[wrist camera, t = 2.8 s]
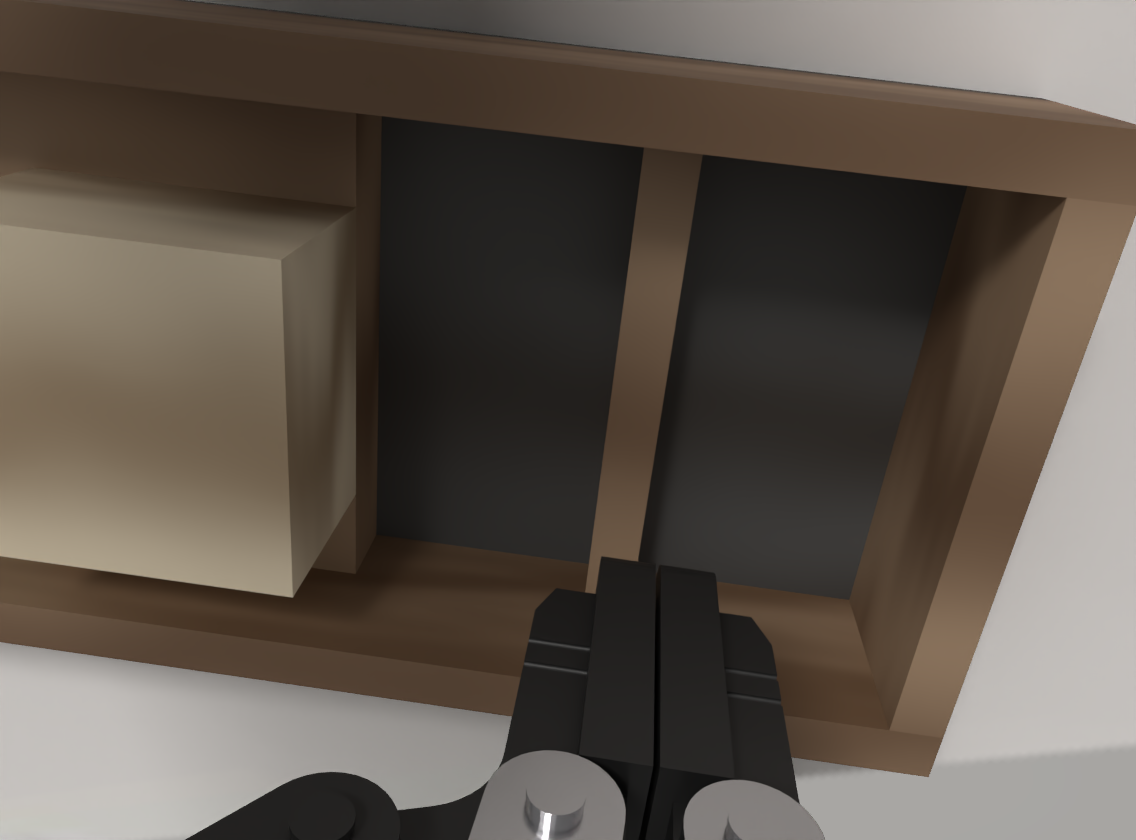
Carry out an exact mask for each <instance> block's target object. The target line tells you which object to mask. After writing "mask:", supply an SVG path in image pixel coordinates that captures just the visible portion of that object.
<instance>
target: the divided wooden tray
mask: <svg viewBox="0 0 1136 840" xmlns="http://www.w3.org/2000/svg"><path fill="white" fill-rule="evenodd" d="M31 168H41V169H49V170H58V171H66V172H74V173H82V174H90V175H98V176H106V177H114V178H122V179H131V180H139V181H147V182H155V183H163V184H171V185H179V186H187V187H195V188H203V189H212V190H220V191H228V192H236V193H244V194H252V195H260V196H268V197H276V198H285V199H293V200H301V201H309V202H317V203H325V204H333V205H341V206H349V207H356V495H355V497H354V498H353V500H352V502H351V503H350V505H349V507H348V508H347V510H346V511H345V513H344V515H343V516H342V518H341V520H340V521H339V523H338V525H337V526H336V528H335V529H334V531H333V533H332V534H331V536H330V538H329V539H328V541H327V543H326V544H325V546H324V547H323V549H322V551H321V552H320V554H319V556H318V557H317V559H316V561H315V562H314V564H313V565H312V567H311V569H310V570H309V572H308V574H307V575H306V577H305V579H304V580H303V582H302V583H301V585H300V587H299V588H298V590H297V592H296V593H295V595H294V597H293V598H292V597H285V596H278V595H271V594H264V593H257V592H250V591H243V590H236V589H229V588H221V587H214V586H207V585H200V584H193V583H186V582H179V581H172V580H165V579H158V578H151V577H144V576H137V575H130V574H123V573H116V572H109V571H101V570H94V569H87V568H80V567H73V566H66V565H59V564H52V563H45V562H38V561H31V560H24V559H17V558H10V557H3V556H0V642H5V643H11V644H18V645H25V646H32V647H39V648H46V649H53V650H60V651H66V652H73V653H80V654H87V655H94V656H101V657H108V658H114V659H121V660H128V661H135V662H142V663H149V664H156V665H163V666H169V667H176V668H183V669H190V670H197V671H204V672H211V673H217V674H224V675H231V676H238V677H245V678H252V679H259V680H266V681H272V682H279V683H286V684H293V685H300V686H307V687H314V688H320V689H327V690H334V691H341V692H348V693H355V694H362V695H369V696H375V697H382V698H389V699H396V700H403V701H410V702H417V703H423V704H430V705H437V706H444V707H451V708H458V709H465V710H472V711H478V712H485V713H492V714H499V715H506V716H512V715H513V711H514V706H515V701H516V697H517V692H518V687H519V683H520V678H521V673H522V669H523V665H524V659H525V655H526V650H527V645H528V642H529V636H530V631H531V626H532V622H533V617H534V612H535V609H536V608H537V607H538V606H539V605H540V604H541V603H542V602H543V601H544V600H545V599H546V598H547V597H548V596H549V595H550V594H551V593H552V592H553V591H554V590H555V589H556V588H559V589H566V590H573V591H579V592H586V593H593V594H595V592H596V586H597V579H598V573H599V566H600V560H601V556H605V557H611V558H618V559H625V560H631V561H638V562H645V563H652V564H655V565H656V575H657V571H658V567H659V565H667V566H673V567H680V568H687V569H694V570H700V571H707V572H714V573H715V575H716V582H717V593H718V603H719V612H721V613H728V614H734V615H741V616H748V617H752V619H753V620H754V621H755V623H756V624H757V625H758V627H759V628H760V629H761V631H762V632H763V634H764V635H765V636H766V638H767V639H768V640H769V642H770V643H771V644H772V648H773V653H774V659H775V665H776V671H777V681H778V682H779V688H780V694H781V706H783V712H784V717H785V723H786V729H787V735H788V741H789V746H790V752H791V757H794V758H801V759H808V760H815V761H822V762H829V763H835V764H842V765H849V766H856V767H863V768H870V769H877V770H884V771H890V772H897V773H904V774H911V775H918V776H925V777H929V774H930V772H931V769H932V766H933V764H934V761H935V758H936V755H937V753H938V750H939V747H940V745H941V742H942V739H943V736H944V734H945V731H946V728H947V726H948V723H949V720H950V717H951V715H952V712H953V709H954V707H955V704H956V701H957V698H958V696H959V693H960V690H961V688H962V685H963V682H964V680H965V677H966V674H967V671H968V669H969V666H970V663H971V661H972V658H973V655H974V652H975V650H976V647H977V644H978V642H979V639H980V636H981V633H982V631H983V628H984V625H985V623H986V620H987V617H988V614H989V612H990V609H991V606H992V604H993V601H994V598H995V595H996V593H997V590H998V587H999V585H1000V582H1001V579H1002V576H1003V574H1004V571H1005V568H1006V566H1007V563H1008V560H1009V557H1010V555H1011V552H1012V549H1013V547H1014V544H1015V541H1016V538H1017V536H1018V533H1019V530H1020V528H1021V525H1022V522H1023V519H1024V517H1025V514H1026V511H1027V509H1028V506H1029V503H1030V501H1031V498H1032V495H1033V492H1034V490H1035V487H1036V484H1037V482H1038V479H1039V476H1040V473H1041V471H1042V468H1043V465H1044V463H1045V460H1046V457H1047V454H1048V452H1049V449H1050V446H1051V444H1052V441H1053V438H1054V435H1055V433H1056V430H1057V427H1058V425H1059V422H1060V419H1061V416H1062V414H1063V411H1064V408H1065V406H1066V403H1067V400H1068V397H1069V395H1070V392H1071V389H1072V387H1073V384H1074V381H1075V378H1076V376H1077V373H1078V370H1079V368H1080V365H1081V362H1082V359H1083V357H1084V354H1085V351H1086V349H1087V346H1088V343H1089V340H1090V338H1091V335H1092V332H1093V330H1094V327H1095V324H1096V322H1097V319H1098V316H1099V313H1100V311H1101V308H1102V305H1103V303H1104V300H1105V297H1106V294H1107V292H1108V289H1109V286H1110V284H1111V281H1112V278H1113V275H1114V273H1115V270H1116V267H1117V265H1118V262H1119V259H1120V256H1121V254H1122V251H1123V248H1124V246H1125V243H1126V240H1127V237H1128V235H1129V232H1130V229H1131V227H1132V224H1133V221H1134V218H1135V216H1136V125H1135V124H1132V123H1128V122H1125V121H1121V120H1118V119H1114V118H1110V117H1107V116H1103V115H1100V114H1096V113H1092V112H1089V111H1085V110H1082V109H1078V108H1074V107H1071V106H1067V105H1064V104H1060V103H1057V102H1053V101H1049V100H1046V99H1042V98H1033V97H1025V96H1016V95H1007V94H998V93H990V92H981V91H972V90H964V89H955V88H946V87H937V86H929V85H920V84H911V83H902V82H894V81H885V80H876V79H868V78H859V77H850V76H841V75H833V74H824V73H815V72H807V71H798V70H789V69H780V68H772V67H763V66H754V65H746V64H737V63H728V62H719V61H711V60H702V59H693V58H685V57H676V56H667V55H658V54H650V53H641V52H632V51H624V50H615V49H606V48H597V47H589V46H580V45H571V44H563V43H554V42H545V41H536V40H528V39H519V38H510V37H502V36H493V35H484V34H475V33H467V32H458V31H449V30H441V29H432V28H423V27H414V26H406V25H397V24H388V23H380V22H371V21H362V20H353V19H345V18H336V17H327V16H319V15H310V14H301V13H292V12H284V11H275V10H266V9H258V8H249V7H240V6H231V5H223V4H214V3H205V2H196V1H188V0H0V177H2V176H6V175H10V174H13V173H17V172H20V171H24V170H28V169H31Z"/></svg>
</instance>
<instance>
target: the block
mask: <svg viewBox="0 0 1136 840" xmlns="http://www.w3.org/2000/svg"><path fill="white" fill-rule="evenodd" d="M355 495H356V207H349V206H341V205H333V204H325V203H317V202H309V201H301V200H293V199H285V198H276V197H268V196H260V195H252V194H244V193H236V192H228V191H220V190H212V189H203V188H195V187H187V186H179V185H171V184H163V183H155V182H147V181H139V180H131V179H122V178H114V177H106V176H98V175H90V174H82V173H74V172H66V171H58V170H49V169H41V168H31V169H28V170H24V171H20V172H17V173H13V174H10V175H6V176H2V177H0V556H3V557H10V558H17V559H24V560H31V561H38V562H45V563H52V564H59V565H66V566H73V567H80V568H87V569H94V570H101V571H109V572H116V573H123V574H130V575H137V576H144V577H151V578H158V579H165V580H172V581H179V582H186V583H193V584H200V585H207V586H214V587H221V588H229V589H236V590H243V591H250V592H257V593H264V594H271V595H278V596H285V597H292V598H293V597H294V595H295V593H296V592H297V590H298V588H299V587H300V585H301V583H302V582H303V580H304V579H305V577H306V575H307V574H308V572H309V570H310V569H311V567H312V565H313V564H314V562H315V561H316V559H317V557H318V556H319V554H320V552H321V551H322V549H323V547H324V546H325V544H326V543H327V541H328V539H329V538H330V536H331V534H332V533H333V531H334V529H335V528H336V526H337V525H338V523H339V521H340V520H341V518H342V516H343V515H344V513H345V511H346V510H347V508H348V507H349V505H350V503H351V502H352V500H353V498H354V497H355Z"/></svg>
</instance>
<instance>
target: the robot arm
mask: <svg viewBox="0 0 1136 840" xmlns="http://www.w3.org/2000/svg"><path fill="white" fill-rule="evenodd" d="M186 840H825V838H824V835H823V832H822V831H821V829H820V827H819V826H818V824H817V823H816V821H815V820H814V819H813V817H812V816H811V815H810V814H809V812H808V811H806V810H805V809H804V808H803V807H802V806H801V805H800V803H799V799H798V793H797V788H796V781H795V775H794V770H793V764H792V758H791V752H790V746H789V741H788V735H787V729H786V723H785V717H784V712H783V706H781V694H780V688H779V682H778V681H777V671H776V665H775V659H774V653H773V648H772V644H771V643H770V642H769V640H768V639H767V638H766V636H765V635H764V634H763V632H762V631H761V629H760V628H759V627H758V625H757V624H756V623H755V621H754V620H753V619H752V617H748V616H741V615H734V614H728V613H721V612H719V603H718V593H717V582H716V575H715V573H714V572H707V571H700V570H694V569H687V568H680V567H673V566H667V565H659V567H658V571H657V575H656V565H655V564H652V563H645V562H638V561H631V560H625V559H618V558H611V557H605V556H601V560H600V566H599V573H598V579H597V586H596V592H595V594H593V593H586V592H579V591H573V590H566V589H559V588H556V589H555V590H554V591H553V592H552V593H551V594H550V595H549V596H548V597H547V598H546V599H545V600H544V601H543V602H542V603H541V604H540V605H539V606H538V607H537V608H536V609H535V612H534V617H533V622H532V626H531V631H530V636H529V642H528V645H527V650H526V655H525V659H524V665H523V669H522V673H521V678H520V683H519V687H518V692H517V697H516V701H515V706H514V711H513V715H512V720H511V725H510V729H509V734H508V739H507V743H506V748H505V753H504V756H503V759H502V762H501V764H500V766H499V768H498V769H497V770H496V771H495V772H494V774H493V775H492V777H491V778H490V779H489V781H488V782H487V783H486V784H484V785H483V786H482V787H481V788H480V789H478V790H476V791H475V792H473V793H472V794H470V795H468V796H466V797H464V798H462V799H459V800H457V801H453V802H450V803H447V804H442V805H437V806H431V807H423V808H414V809H406V810H398V811H397V808H396V806H395V804H394V802H393V800H392V799H391V798H390V797H389V795H388V794H387V793H386V792H385V791H384V790H383V789H382V788H380V787H379V786H378V785H376V784H375V783H373V782H371V781H369V780H368V779H365V778H362V777H360V776H357V775H352V774H347V773H339V772H325V773H316V774H311V775H306V776H303V777H300V778H297V779H294V780H292V781H290V782H287V783H285V784H283V785H281V786H279V787H278V788H276V789H274V790H272V791H271V792H269V793H267V794H265V795H264V796H262V797H260V798H258V799H256V800H255V801H253V802H251V803H249V804H248V805H246V806H244V807H242V808H240V809H239V810H237V811H235V812H233V813H232V814H230V815H228V816H226V817H225V818H223V819H221V820H219V821H217V822H216V823H214V824H212V825H210V826H209V827H207V828H205V829H203V830H202V831H200V832H198V833H196V834H194V835H193V836H191V837H189V838H187V839H186Z"/></svg>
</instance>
